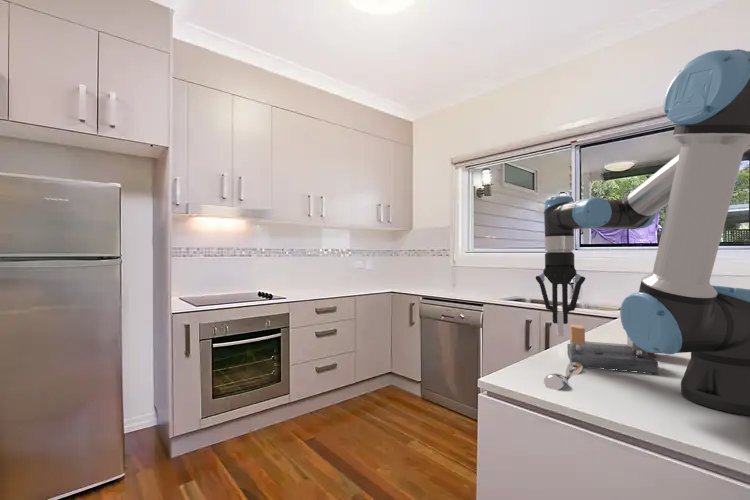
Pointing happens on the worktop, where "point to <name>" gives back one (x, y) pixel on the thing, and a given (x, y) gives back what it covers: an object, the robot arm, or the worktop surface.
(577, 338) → the block
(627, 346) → the bar
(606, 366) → the hole plate
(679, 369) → the worktop surface
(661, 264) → the robot arm
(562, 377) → the grey spoon
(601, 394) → the worktop surface
